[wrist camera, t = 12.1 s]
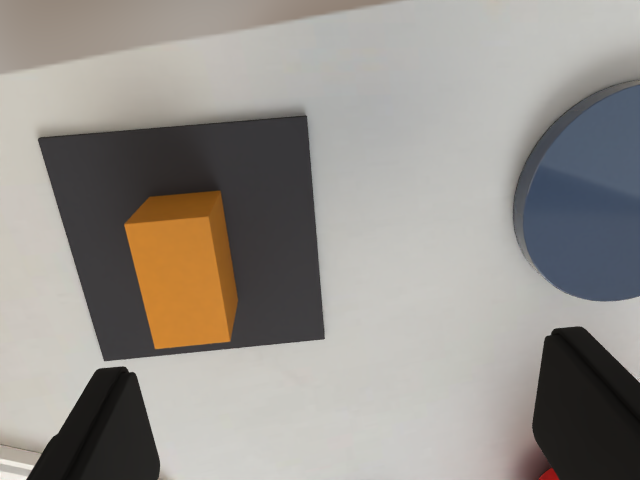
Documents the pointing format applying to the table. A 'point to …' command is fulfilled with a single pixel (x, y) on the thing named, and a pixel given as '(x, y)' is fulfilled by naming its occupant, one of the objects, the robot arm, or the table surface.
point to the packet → (184, 268)
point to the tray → (16, 463)
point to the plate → (586, 198)
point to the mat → (240, 216)
